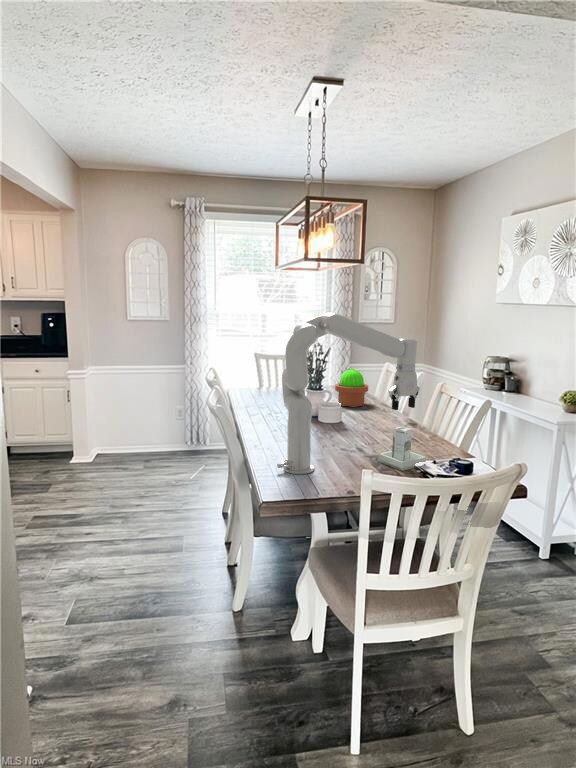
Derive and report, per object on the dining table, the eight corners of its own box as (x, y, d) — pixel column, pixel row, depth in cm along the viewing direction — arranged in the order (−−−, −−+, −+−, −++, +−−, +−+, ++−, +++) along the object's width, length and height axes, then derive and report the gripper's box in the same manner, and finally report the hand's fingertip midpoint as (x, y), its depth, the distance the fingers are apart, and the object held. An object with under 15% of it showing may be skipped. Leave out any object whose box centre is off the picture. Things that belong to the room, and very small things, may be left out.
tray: (402, 470, 196) (402, 462, 195) (378, 461, 207) (378, 453, 207) (425, 464, 203) (426, 457, 202) (401, 456, 215) (401, 448, 214)
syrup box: (398, 457, 209) (399, 425, 206) (410, 460, 205) (412, 428, 203) (391, 461, 205) (392, 428, 202) (403, 464, 201) (405, 430, 198)
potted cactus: (363, 409, 309) (365, 371, 305) (331, 406, 317) (331, 369, 312) (370, 402, 329) (371, 367, 325) (339, 400, 337) (340, 365, 333)
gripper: (397, 370, 191) (394, 412, 193) (427, 368, 200) (424, 408, 203) (384, 368, 197) (381, 408, 200) (413, 366, 206) (411, 404, 209)
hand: (403, 408), depth 201 cm, fingers open, 9 cm apart
